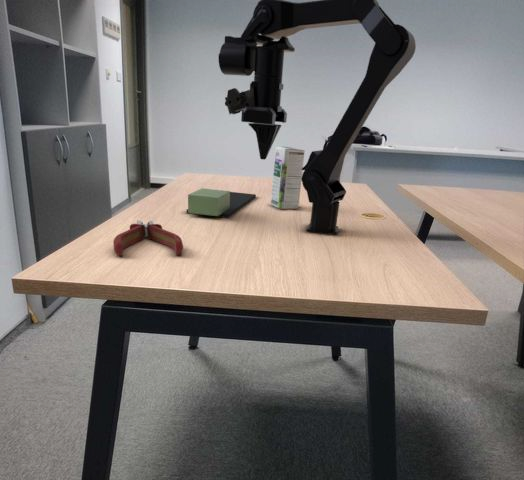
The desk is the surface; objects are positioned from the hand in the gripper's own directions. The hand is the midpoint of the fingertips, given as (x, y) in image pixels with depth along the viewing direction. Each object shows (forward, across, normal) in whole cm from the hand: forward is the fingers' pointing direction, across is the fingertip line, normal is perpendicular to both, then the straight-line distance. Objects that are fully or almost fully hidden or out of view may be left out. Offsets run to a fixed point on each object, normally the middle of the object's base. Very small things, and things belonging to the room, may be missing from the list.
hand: (263, 159), depth 103 cm
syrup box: (+13, -18, +3) cm, 23 cm away
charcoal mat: (+13, -13, -12) cm, 22 cm away
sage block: (+10, +5, -12) cm, 17 cm away
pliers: (+13, +29, -13) cm, 34 cm away
